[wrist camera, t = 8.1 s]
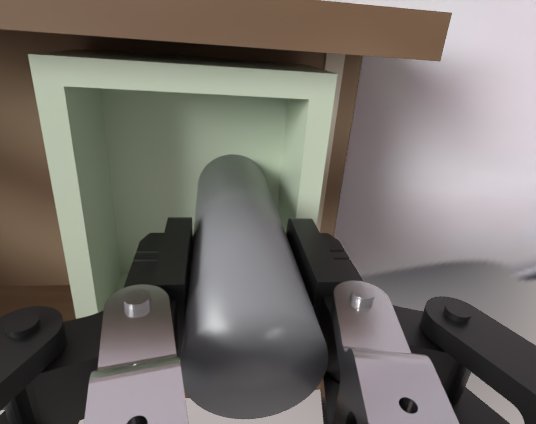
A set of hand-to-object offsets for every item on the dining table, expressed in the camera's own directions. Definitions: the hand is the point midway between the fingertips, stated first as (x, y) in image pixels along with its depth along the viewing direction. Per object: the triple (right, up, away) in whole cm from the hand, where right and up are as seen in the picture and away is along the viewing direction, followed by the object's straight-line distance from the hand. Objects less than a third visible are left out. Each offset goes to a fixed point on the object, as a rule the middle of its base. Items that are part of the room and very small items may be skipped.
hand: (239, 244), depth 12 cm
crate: (-2, +2, +5) cm, 6 cm away
